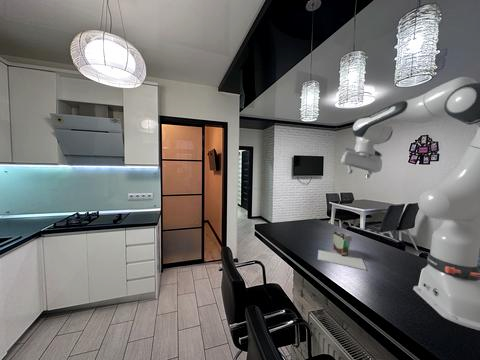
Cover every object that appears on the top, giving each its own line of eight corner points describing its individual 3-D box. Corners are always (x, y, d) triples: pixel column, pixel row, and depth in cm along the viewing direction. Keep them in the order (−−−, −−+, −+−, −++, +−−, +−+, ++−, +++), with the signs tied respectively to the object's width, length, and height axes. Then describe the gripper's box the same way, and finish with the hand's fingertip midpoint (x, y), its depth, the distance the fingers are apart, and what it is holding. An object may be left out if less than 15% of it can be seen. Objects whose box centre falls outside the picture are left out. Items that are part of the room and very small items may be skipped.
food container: (355, 258, 95) (357, 238, 95) (343, 257, 95) (344, 236, 95) (342, 249, 107) (344, 231, 107) (331, 248, 107) (333, 230, 107)
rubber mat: (366, 270, 84) (366, 269, 84) (317, 259, 92) (317, 258, 92) (361, 259, 95) (362, 258, 95) (318, 250, 103) (318, 250, 103)
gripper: (347, 145, 104) (342, 168, 101) (385, 155, 102) (381, 179, 100) (341, 149, 110) (336, 171, 107) (377, 158, 108) (373, 181, 106)
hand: (358, 175), depth 103 cm, fingers open, 8 cm apart
